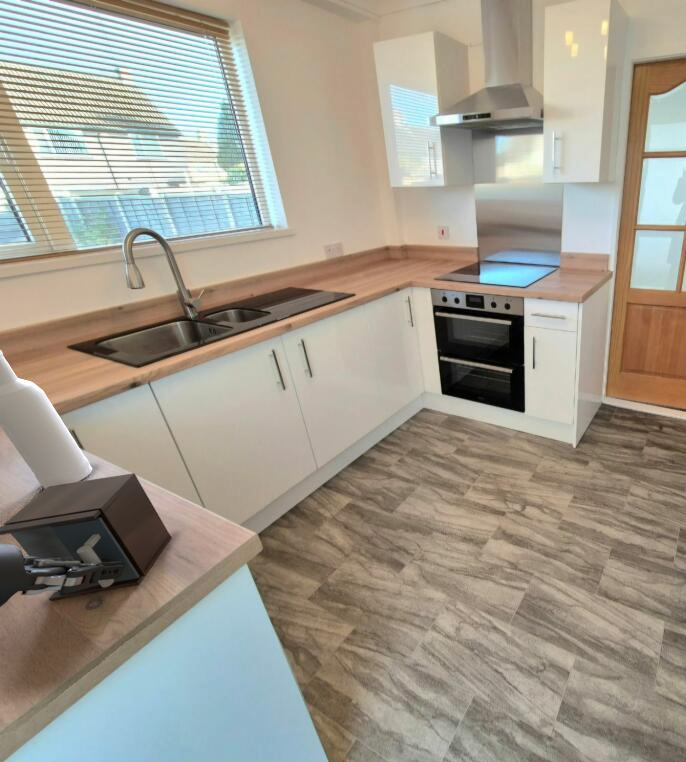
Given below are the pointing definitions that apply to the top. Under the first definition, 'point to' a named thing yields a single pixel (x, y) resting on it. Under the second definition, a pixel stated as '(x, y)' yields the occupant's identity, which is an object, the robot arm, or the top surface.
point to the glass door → (94, 546)
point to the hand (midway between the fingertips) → (113, 568)
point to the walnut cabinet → (87, 502)
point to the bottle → (38, 431)
